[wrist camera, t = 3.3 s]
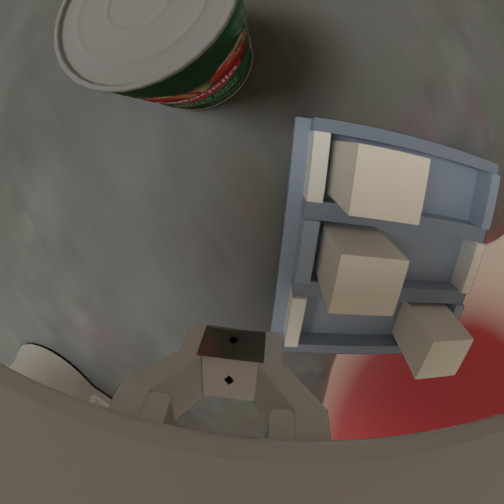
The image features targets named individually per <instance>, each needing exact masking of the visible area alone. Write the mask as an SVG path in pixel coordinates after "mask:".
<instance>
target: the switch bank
mask: <svg viewBox="0 0 504 504" xmlns="http://www.w3.org/2000/svg"><path fill="white" fill-rule="evenodd" d="M332 140H335V141H345V142H354V143H361V144H366V145H372V146H377V147H382V148H386V149H391V150H396V151H400V152H405V153H409V154H413V155H417V156H421V157H425V158H429V159H431V160H430V167H429V174H428V180H427V186H426V192H425V197H424V202H423V208H422V212H421V217H420V222H419V225H413V224H407V223H400V222H393V221H386V220H379V219H371V218H364V217H356V216H348V215H347V213H346V212H345V211H344V210H343V209H342V208H341V207H340V206H339V205H338V204H337V203H336V202H335V201H334V200H333V199H332V198H331V197H330V196H329V195H328V194H327V193H326V188H327V180H328V172H329V164H330V155H331V146H332ZM498 168H499V165H498V164H496V163H493V162H491V161H488V160H485V159H483V158H480V157H477V156H474V155H471V154H469V153H466V152H463V151H460V150H457V149H454V148H450V147H447V146H444V145H441V144H437V143H434V142H431V141H427V140H423V139H420V138H416V137H412V136H408V135H404V134H400V133H396V132H392V131H388V130H383V129H379V128H374V127H369V126H364V125H359V124H354V123H349V122H343V121H337V120H331V119H324V118H317V117H314V118H303V117H294V124H293V135H292V145H291V156H290V166H289V176H288V185H287V195H286V204H285V213H284V222H283V231H282V239H281V248H280V256H279V264H278V272H277V280H276V288H275V296H274V303H273V311H272V318H271V325H270V332H280V333H281V335H282V351H284V352H301V353H325V354H402V352H401V350H400V348H399V346H398V344H397V342H396V340H395V338H394V336H393V334H392V332H391V331H392V329H393V326H394V323H395V320H396V318H397V315H398V312H399V309H400V306H401V303H402V302H413V303H445V304H446V306H447V307H448V308H449V309H450V310H451V312H452V313H453V314H454V315H455V316H456V318H457V319H458V320H459V318H460V316H461V314H462V311H463V309H464V305H463V304H462V303H463V301H464V298H465V296H466V294H469V293H470V291H471V288H472V285H473V283H474V280H475V277H476V274H477V271H478V268H479V265H480V261H481V258H482V255H483V252H484V248H485V244H484V243H483V241H484V237H485V233H486V230H490V226H491V222H492V218H493V213H494V209H495V204H496V199H497V194H498V189H499V183H500V177H501V176H498ZM322 221H330V222H339V223H347V224H356V225H364V226H372V227H376V228H377V229H378V230H379V231H380V232H381V233H382V234H383V235H384V236H385V237H386V238H387V239H388V240H390V241H391V242H392V243H393V244H394V245H395V246H396V247H397V248H398V249H399V250H400V251H401V252H402V253H403V254H404V255H405V256H406V257H407V258H408V260H409V261H410V262H409V266H408V269H407V273H406V276H405V280H404V283H403V286H402V290H401V293H400V296H399V299H398V302H397V305H396V308H395V311H394V314H393V316H375V315H350V314H331V313H328V310H327V307H326V304H325V300H324V297H323V294H322V290H321V287H320V284H319V281H318V277H317V274H316V271H315V268H314V266H315V260H316V254H317V248H318V242H319V236H320V229H321V223H322Z"/></svg>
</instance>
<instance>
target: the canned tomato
mask: <svg viewBox="0 0 504 504" xmlns="http://www.w3.org/2000/svg"><path fill="white" fill-rule="evenodd" d="M54 44H55V52H56V55H57V58H58V61H59V64H60V65H61V67H62V68H63V70H64V71H65V73H66V74H67V75H68V76H69V77H70V78H71V79H72V80H74V81H75V82H76V83H78V84H80V85H82V86H84V87H86V88H88V89H90V90H95V91H100V92H105V93H110V92H111V93H115V94H120V95H124V96H129V97H134V98H138V99H142V100H146V101H150V102H155V103H159V104H163V105H166V106H170V107H172V108H176V109H180V110H187V111H197V110H205V109H208V108H212V107H215V106H217V105H219V104H221V103H223V102H225V101H227V100H228V99H229V98H231V97H232V96H234V95H235V94H236V93H237V92H238V91H239V89H240V88H241V87H242V86H243V84H244V83H245V81H246V80H247V78H248V76H249V73H250V71H251V68H252V63H253V48H252V44H251V40H250V33H249V28H248V23H247V18H246V13H245V8H244V4H243V0H64V1H63V3H62V5H61V7H60V10H59V13H58V16H57V19H56V24H55V32H54Z"/></svg>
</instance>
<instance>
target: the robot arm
mask: <svg viewBox="0 0 504 504" xmlns="http://www.w3.org/2000/svg"><path fill="white" fill-rule="evenodd" d="M203 395H207V396H215V397H224V398H232V399H239V400H246V401H254V404H255V406H256V407H257V409H258V411H259V412H260V414H261V416H262V417H263V419H264V421H265V422H266V424H267V429H266V434H265V438H254V437H244V436H235V435H227V434H220V433H213V432H206V431H200V430H195V429H189V428H184V427H179V426H176V422H175V420H176V419H178V418H179V417H180V416H181V415H182V414H183V413H185V412H186V411H187V410H188V409H189V408H190V407H191V406H193V405H194V404H195V403H196V402H197V401H198V400H199V399H200V398H202V397H203ZM0 504H504V413H501V414H498V415H495V416H492V417H488V418H485V419H481V420H477V421H473V422H469V423H465V424H461V425H457V426H452V427H447V428H442V429H438V430H432V431H426V432H420V433H414V434H407V435H399V436H390V437H381V438H370V439H353V440H331V434H330V426H329V417H328V410H327V409H326V408H325V407H324V406H323V405H322V404H321V403H320V402H319V401H318V399H317V398H316V397H315V396H314V395H313V394H312V393H311V392H310V391H309V390H308V389H307V388H306V387H305V386H304V385H303V383H302V382H301V381H300V380H299V379H298V378H297V377H296V376H295V375H294V374H293V373H292V371H291V370H290V369H289V368H288V367H287V366H286V365H282V335H281V333H280V332H260V331H249V330H240V329H233V328H226V327H219V326H212V325H205V324H198V323H192V324H191V326H190V328H189V331H188V333H187V335H186V338H185V340H184V343H183V345H182V348H181V350H180V352H174V353H173V354H171V355H169V356H167V357H166V358H164V359H162V360H160V361H159V362H157V363H155V364H153V365H152V366H150V367H148V368H146V369H144V370H143V371H141V372H139V373H137V374H135V375H134V376H132V377H130V378H128V379H126V380H124V381H123V382H121V384H120V386H119V388H118V389H117V391H116V393H115V395H114V397H113V399H112V400H111V399H110V398H109V397H107V396H106V395H105V394H103V393H101V392H100V391H98V390H97V389H95V388H94V387H93V386H92V385H91V384H90V383H89V382H88V381H87V380H86V379H85V378H84V377H83V376H82V375H81V374H80V373H79V372H78V371H77V370H76V369H74V368H73V367H72V366H71V365H70V364H69V363H67V362H66V361H65V360H63V359H62V358H60V357H59V356H58V355H56V354H54V353H53V352H51V351H49V350H47V349H45V348H43V347H40V346H37V345H33V344H25V345H23V346H21V347H20V349H19V351H18V353H17V356H16V358H15V360H14V361H13V362H12V364H11V365H10V368H8V367H7V366H5V365H3V364H1V363H0Z"/></svg>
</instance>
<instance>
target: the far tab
mask: <svg viewBox="0 0 504 504" xmlns="http://www.w3.org/2000/svg"><path fill="white" fill-rule="evenodd" d="M391 332H392V334H393V336H394V338H395V340H396V342H397V344H398V346H399V348H400V350H401V352H402V354H403V356H404V358H405V360H406V362H407V364H408V366H409V368H410V370H411V372H412V374H413V376H414V378H415V379H424V378H434V377H443V376H450V375H455V374H456V372H457V370H458V368H459V367H460V364H461V363H462V361H463V359H464V357H465V356H466V354H467V352H468V350H469V348H470V346H471V344H472V342H473V340H474V339H473V338H472V336H471V335H470V334H469V332H468V331H467V330H466V329H465V327H464V326H463V325H462V324H461V322H460V321H459V320H458V319H457V318H456V316H455V315H454V314H453V313H452V312H451V310H450V309H449V308H448V307H447V306H446V304H445V303H413V302H402V303H401V306H400V309H399V312H398V315H397V318H396V320H395V323H394V326H393V329H392V331H391Z"/></svg>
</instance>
